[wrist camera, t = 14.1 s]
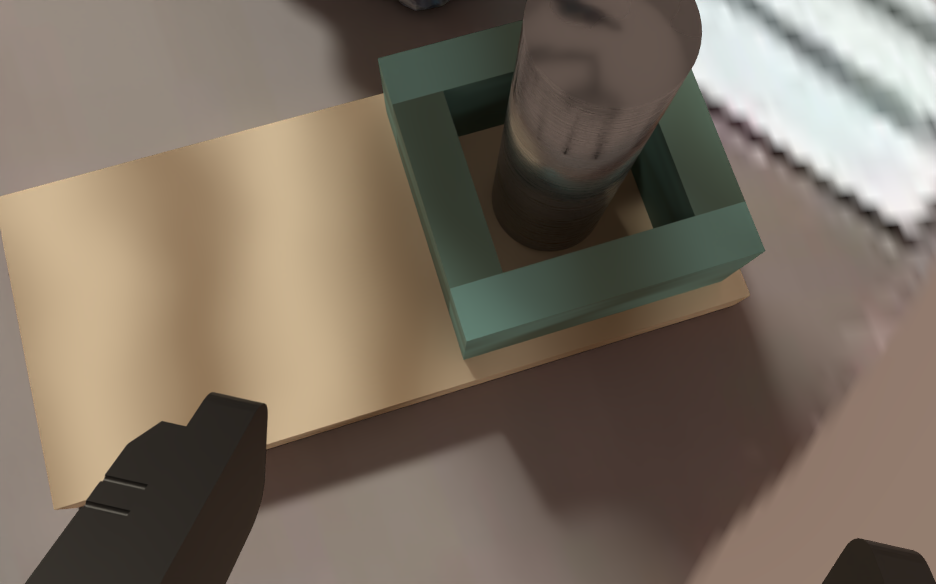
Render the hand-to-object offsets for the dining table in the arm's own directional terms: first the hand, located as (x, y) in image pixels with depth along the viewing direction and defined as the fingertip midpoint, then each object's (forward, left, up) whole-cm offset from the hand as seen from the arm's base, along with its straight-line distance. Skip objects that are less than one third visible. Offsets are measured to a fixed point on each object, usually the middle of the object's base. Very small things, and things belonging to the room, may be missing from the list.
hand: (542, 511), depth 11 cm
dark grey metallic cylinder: (+5, +8, -13) cm, 16 cm away
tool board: (-1, +8, -14) cm, 17 cm away
